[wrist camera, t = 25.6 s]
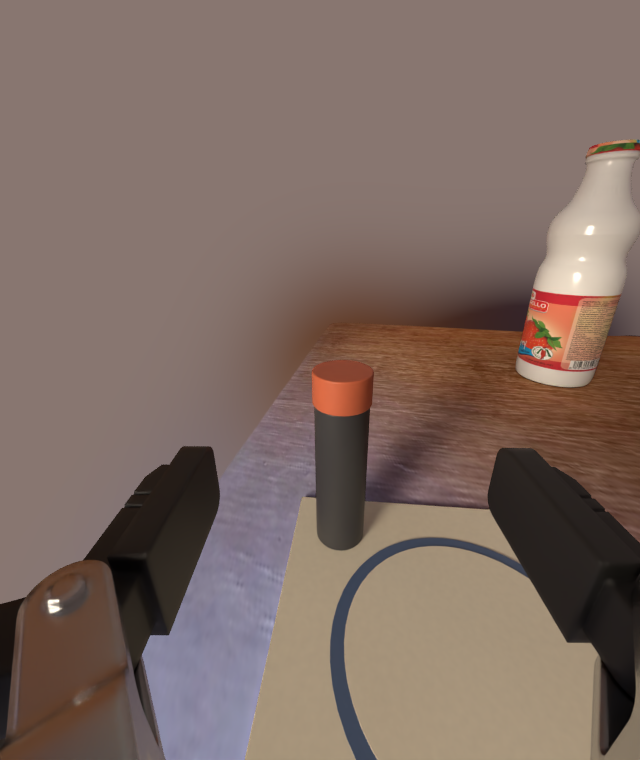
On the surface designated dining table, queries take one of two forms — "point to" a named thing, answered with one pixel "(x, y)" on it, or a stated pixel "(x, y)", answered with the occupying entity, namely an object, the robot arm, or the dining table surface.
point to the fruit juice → (582, 272)
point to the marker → (341, 449)
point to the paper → (418, 648)
